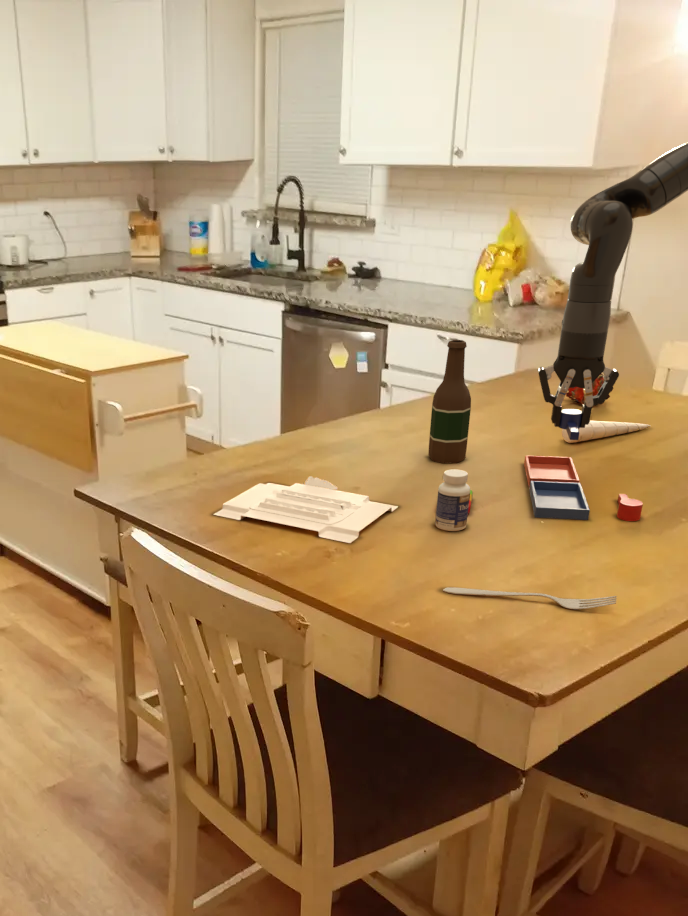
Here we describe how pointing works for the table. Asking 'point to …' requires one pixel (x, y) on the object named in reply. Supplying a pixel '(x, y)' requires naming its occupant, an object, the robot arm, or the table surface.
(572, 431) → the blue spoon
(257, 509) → the tray
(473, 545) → the table surface
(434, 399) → the beer bottle
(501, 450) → the table surface
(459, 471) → the pill bottle
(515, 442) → the table surface
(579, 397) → the dragon fruit
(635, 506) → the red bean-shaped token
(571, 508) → the blue tray
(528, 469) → the red tray
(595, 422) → the unicorn horn
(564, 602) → the fork
